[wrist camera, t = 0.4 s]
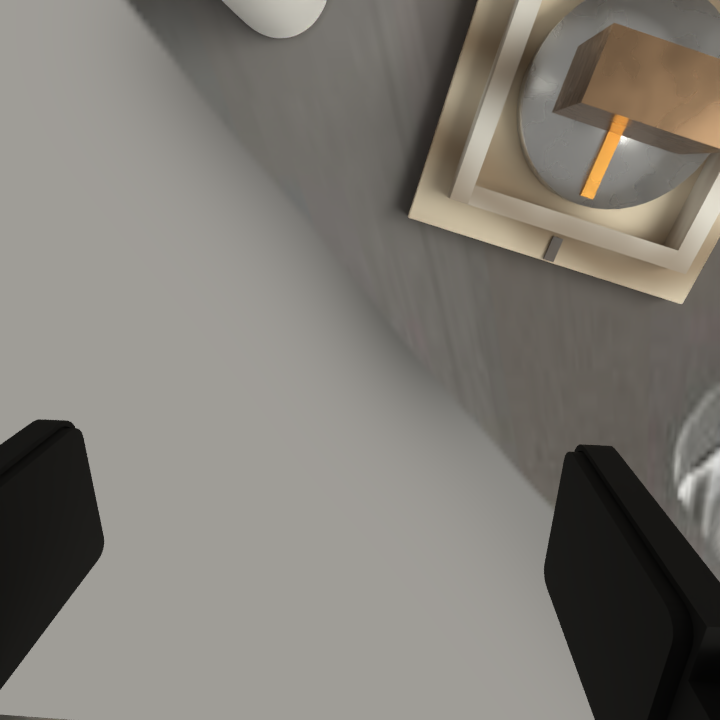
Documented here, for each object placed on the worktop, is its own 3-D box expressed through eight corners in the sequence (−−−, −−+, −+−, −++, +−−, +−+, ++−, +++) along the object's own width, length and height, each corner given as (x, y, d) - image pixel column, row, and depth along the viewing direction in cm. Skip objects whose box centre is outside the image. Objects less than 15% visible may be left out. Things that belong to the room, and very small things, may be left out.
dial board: (521, -138, 28) (538, -177, 25) (846, -23, 29) (903, -46, 26) (407, 215, 36) (409, 220, 32) (670, 299, 36) (698, 312, 33)
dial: (567, -43, 28) (617, -102, 22) (763, 26, 29) (866, -14, 23) (487, 175, 33) (509, 177, 26) (658, 231, 33) (720, 246, 27)
